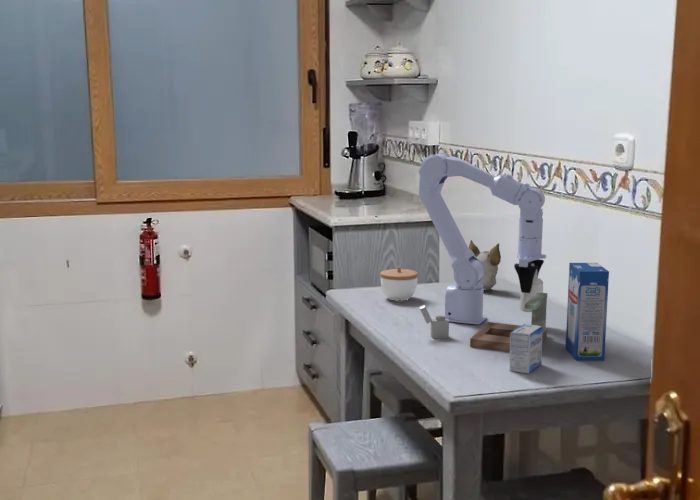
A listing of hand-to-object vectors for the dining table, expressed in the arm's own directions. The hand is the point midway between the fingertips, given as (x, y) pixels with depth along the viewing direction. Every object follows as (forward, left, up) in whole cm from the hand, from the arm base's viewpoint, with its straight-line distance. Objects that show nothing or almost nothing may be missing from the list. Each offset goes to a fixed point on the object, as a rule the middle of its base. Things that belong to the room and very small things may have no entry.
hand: (528, 290), depth 209 cm
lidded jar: (-40, +14, -9) cm, 43 cm away
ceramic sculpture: (-20, +35, -9) cm, 41 cm away
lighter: (-18, -20, -9) cm, 28 cm away
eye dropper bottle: (+1, 0, -5) cm, 6 cm away
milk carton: (+17, -19, -9) cm, 27 cm away
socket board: (-2, -16, -9) cm, 19 cm away
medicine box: (+7, -34, -9) cm, 36 cm away
